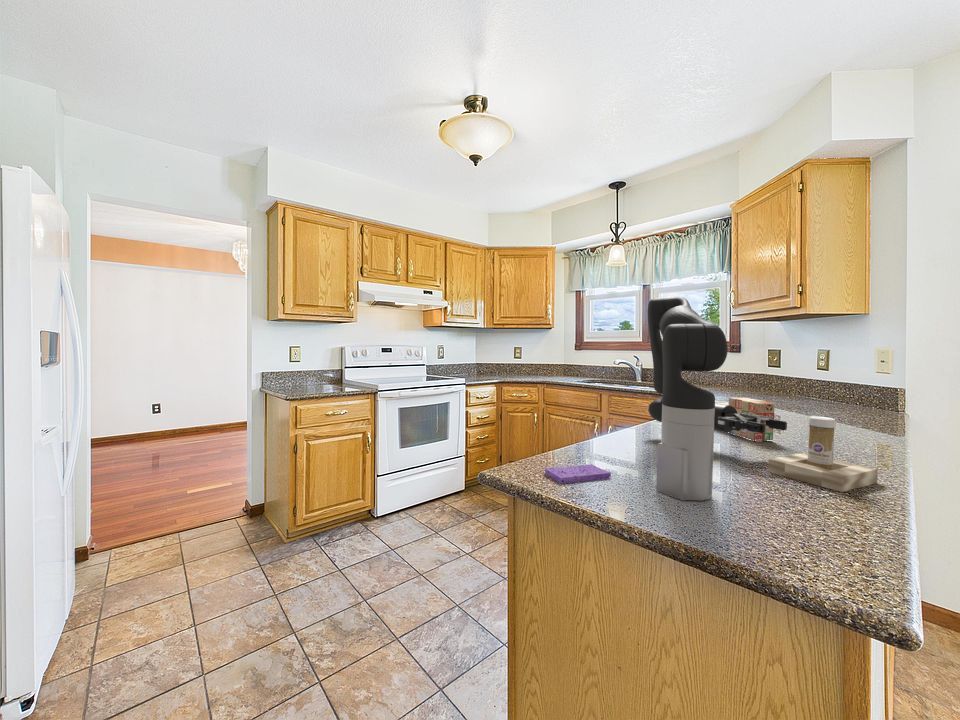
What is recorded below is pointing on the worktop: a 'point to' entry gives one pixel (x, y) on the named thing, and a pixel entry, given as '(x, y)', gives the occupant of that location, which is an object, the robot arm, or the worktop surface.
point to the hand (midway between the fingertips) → (775, 427)
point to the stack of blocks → (756, 409)
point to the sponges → (577, 473)
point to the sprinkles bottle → (821, 441)
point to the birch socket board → (824, 472)
